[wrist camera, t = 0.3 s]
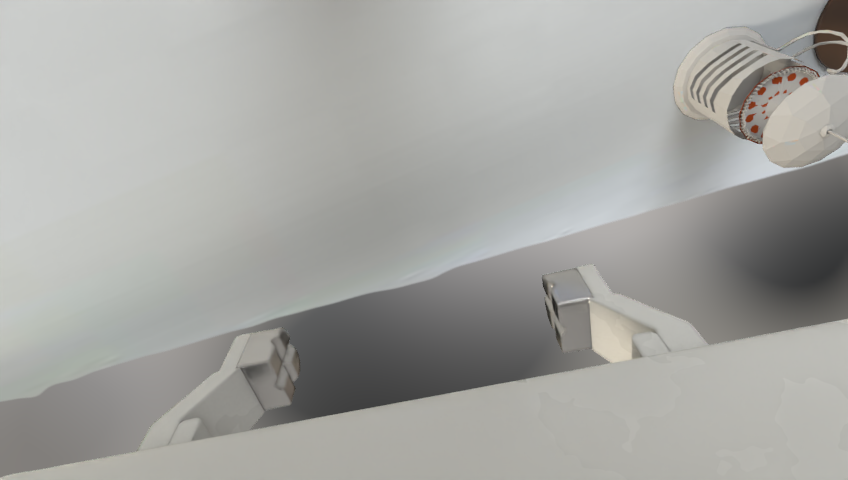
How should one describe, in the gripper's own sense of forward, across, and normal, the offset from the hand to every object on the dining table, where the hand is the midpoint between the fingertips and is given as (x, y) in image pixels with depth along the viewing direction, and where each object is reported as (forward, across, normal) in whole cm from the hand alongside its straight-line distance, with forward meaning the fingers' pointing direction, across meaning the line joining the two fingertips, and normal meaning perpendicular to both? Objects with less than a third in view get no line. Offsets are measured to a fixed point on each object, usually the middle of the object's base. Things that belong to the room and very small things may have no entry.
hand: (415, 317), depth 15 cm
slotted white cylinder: (+40, -33, +7) cm, 52 cm away
